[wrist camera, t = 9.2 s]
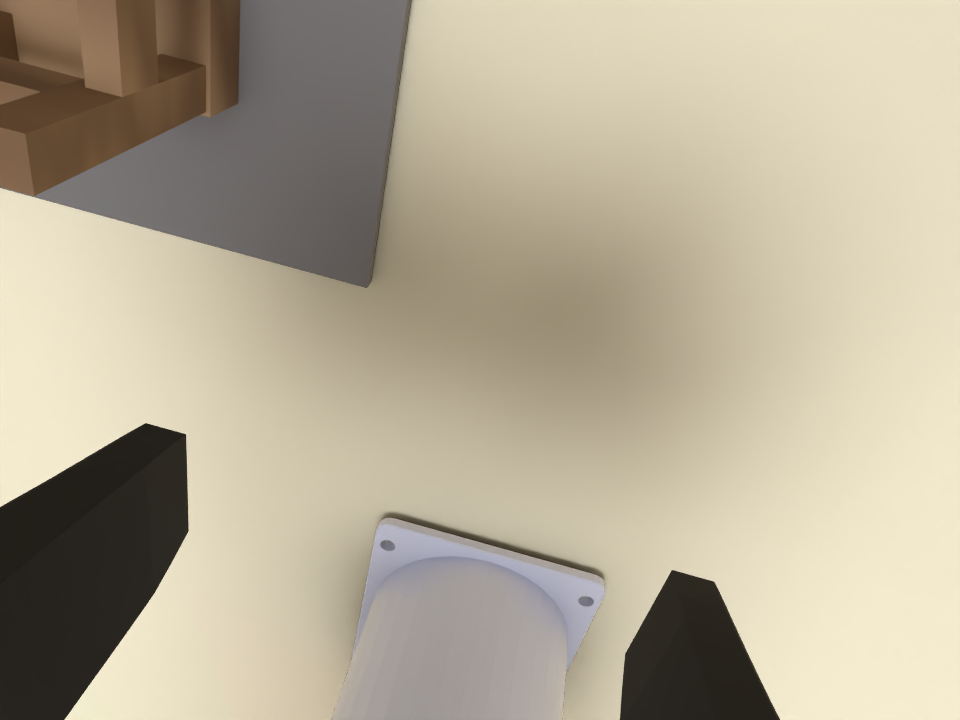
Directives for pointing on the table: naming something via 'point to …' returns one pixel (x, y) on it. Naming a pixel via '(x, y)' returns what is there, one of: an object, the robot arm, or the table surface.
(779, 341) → the table surface
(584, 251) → the table surface
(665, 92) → the table surface
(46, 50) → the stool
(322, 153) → the mat
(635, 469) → the table surface
